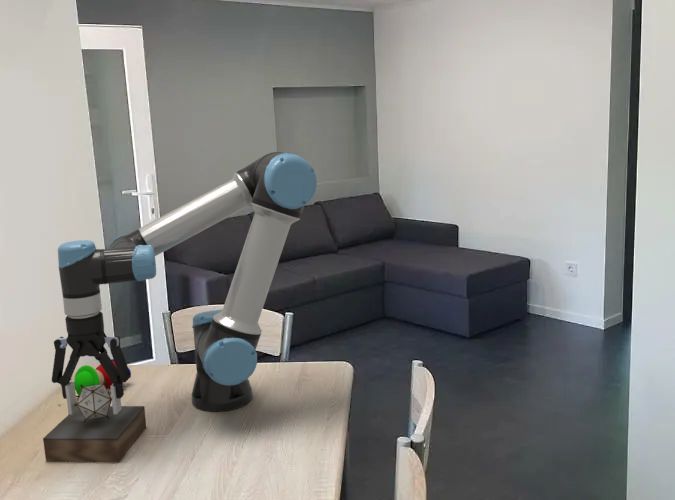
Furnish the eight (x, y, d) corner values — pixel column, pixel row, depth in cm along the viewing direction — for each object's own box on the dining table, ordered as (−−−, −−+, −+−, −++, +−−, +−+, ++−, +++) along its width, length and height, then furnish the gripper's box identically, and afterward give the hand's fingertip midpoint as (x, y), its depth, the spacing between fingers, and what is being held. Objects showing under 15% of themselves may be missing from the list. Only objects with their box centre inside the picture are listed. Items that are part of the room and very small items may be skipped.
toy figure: (110, 391, 186) (65, 402, 173) (109, 356, 186) (64, 365, 173) (135, 393, 182) (90, 404, 168) (133, 357, 182) (89, 366, 169)
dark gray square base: (146, 427, 157) (144, 406, 156) (119, 462, 141) (116, 438, 140) (80, 427, 158) (77, 406, 157) (46, 462, 143) (42, 438, 142)
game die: (102, 437, 148) (97, 414, 141) (68, 422, 149) (62, 398, 142) (124, 404, 154) (121, 380, 147) (91, 390, 155) (87, 366, 148)
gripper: (140, 307, 147) (150, 404, 151) (42, 309, 149) (55, 404, 153) (127, 317, 140) (137, 419, 144) (24, 319, 141) (38, 419, 146)
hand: (95, 411), depth 148 cm, fingers closed on game die, 9 cm apart
